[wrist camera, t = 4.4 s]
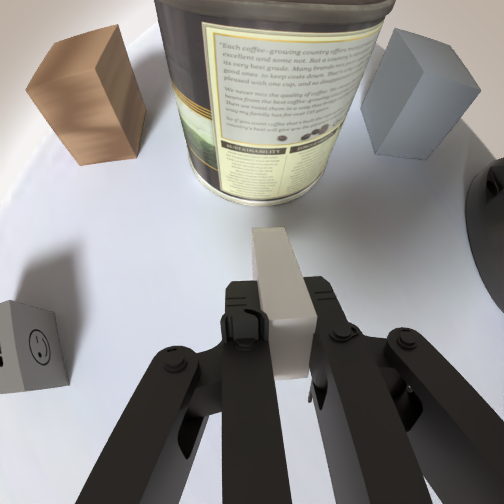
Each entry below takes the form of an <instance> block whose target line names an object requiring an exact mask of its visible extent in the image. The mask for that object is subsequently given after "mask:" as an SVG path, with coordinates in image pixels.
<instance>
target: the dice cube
mask: <svg viewBox="0 0 504 504" xmlns="http://www.w3.org/2000/svg"><path fill="white" fill-rule="evenodd" d="M68 385H69V381H68V377H67V373H66V369H65V365H64V361H63V356H62V352H61V347H60V342H59V337H58V331H57V326H56V320H55V313H54V312H51V311H47V310H43V309H39V308H36V307H32V306H29V305H25V304H22V303H18V302H15V301H12V300H8V301H5V302H2V303H0V394H6V393H16V392H25V391H33V390H41V389H48V388H55V387H62V386H68Z"/></svg>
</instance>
